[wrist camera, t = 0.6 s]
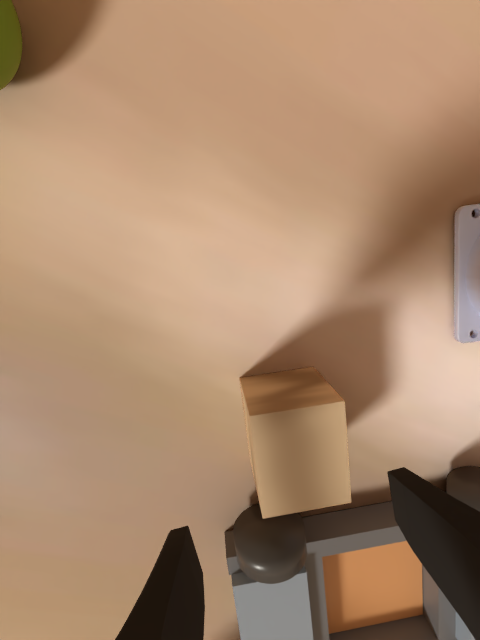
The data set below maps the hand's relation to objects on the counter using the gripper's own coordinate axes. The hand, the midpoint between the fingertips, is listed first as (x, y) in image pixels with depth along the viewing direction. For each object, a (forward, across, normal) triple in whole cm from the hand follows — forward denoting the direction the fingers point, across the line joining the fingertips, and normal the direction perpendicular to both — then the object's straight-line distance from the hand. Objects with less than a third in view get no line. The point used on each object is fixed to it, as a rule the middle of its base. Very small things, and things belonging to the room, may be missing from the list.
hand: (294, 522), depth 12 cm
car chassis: (+9, -5, +14) cm, 18 cm away
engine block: (+10, -1, +1) cm, 10 cm away
